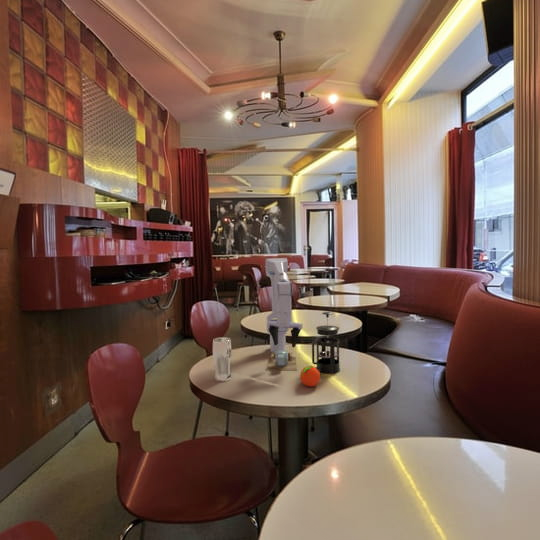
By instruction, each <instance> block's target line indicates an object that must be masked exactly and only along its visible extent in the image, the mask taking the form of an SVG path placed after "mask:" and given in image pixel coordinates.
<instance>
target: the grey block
mask: <svg viewBox="0 0 540 540" xmlns="http://www.w3.org/2000/svg"><path fill="white" fill-rule="evenodd" d="M288 353H289V352H288V350H286V351H285V350H279V351H276V352H275V366H277V367H286V366H288Z"/></svg>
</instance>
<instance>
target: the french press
mask: <svg viewBox="0 0 540 540" xmlns="http://www.w3.org/2000/svg"><path fill="white" fill-rule="evenodd" d="M321 314H322V315H325V316H326V325H319V326H316V330H317V331H316V332H317V334H318V335H320V336H323V337H318V338H317V339H316V340H315V341H312V342H311V363H312V364H313V365H316V369H317V370H318V371H319V373H321V374H328V375H329V374H337V373H339V372H340V371H341V367H340V339H339V338H336V337H333V336H337V335H338V333H339V330H340V327H339V326H336V325H329V315H333V314H334V313H333V312H331V311H324V312H322V313H321ZM326 341H327V342H326ZM330 341H331V342H330ZM315 344H316V361H315ZM320 346H321V351H319V347H320ZM335 347H336V351H335ZM326 349H327V350H326Z"/></svg>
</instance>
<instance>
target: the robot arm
mask: <svg viewBox="0 0 540 540" xmlns="http://www.w3.org/2000/svg"><path fill="white" fill-rule="evenodd" d="M264 263H265V274H266V275H265V276H266V277H268V278H269V279H270V282H271V309H272V310H271V311H272V312H271V313H269V314H268V315H267V317H266V332H267V333H268V334H269V347H270V348H269V349H270V350H269V351H270V352H271V353H275V352H276V351H279V350H285V351H287V349H286V348H287V347H286V342H287V341H286V334H287V333H288V332H289V329H291V330H290V335H291V347H292V348H295V347H296V346H297V341H298V338H299V337H298V336H299V334H300V332H301V331H302V329H303V323H299V322H294V321H292V320H293V317H292V296H293V293H294V291H293V290H294V289H293V288H294V286H293V282H292V280H289V276H288V274H287V272H288V269H289V267H288V266H289V265H288V264H289V263H288V259H287V257H281V258H280V257H279V258H278V257H277V258H268V257H267V258H266V259H265V262H264Z"/></svg>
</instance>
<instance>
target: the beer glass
mask: <svg viewBox="0 0 540 540" xmlns="http://www.w3.org/2000/svg"><path fill="white" fill-rule="evenodd" d="M212 357H213V361H214V366H215V373H214V380H215V381H217V382H227V381H230V380H231V379H232V374H231V370H230V369H231V361H232V360H231V359H232V340H231V338H230V337H225V336H223V337H216V338H213V340H212Z"/></svg>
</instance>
